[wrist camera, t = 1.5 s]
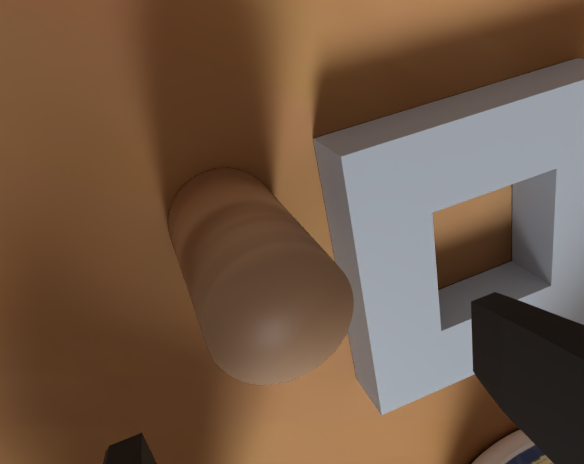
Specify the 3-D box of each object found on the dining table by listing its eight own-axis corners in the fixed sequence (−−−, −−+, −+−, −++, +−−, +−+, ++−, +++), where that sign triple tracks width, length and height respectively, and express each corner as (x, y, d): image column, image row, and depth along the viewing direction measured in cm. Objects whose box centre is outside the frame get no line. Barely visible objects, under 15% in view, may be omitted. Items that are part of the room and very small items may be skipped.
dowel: (283, 248, 21) (362, 351, 15) (185, 282, 20) (227, 406, 14) (261, 154, 19) (341, 228, 13) (153, 186, 18) (185, 283, 12)
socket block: (563, 292, 28) (603, 317, 25) (356, 378, 25) (381, 415, 23) (577, 58, 22) (630, 65, 20) (312, 138, 19) (340, 156, 17)
